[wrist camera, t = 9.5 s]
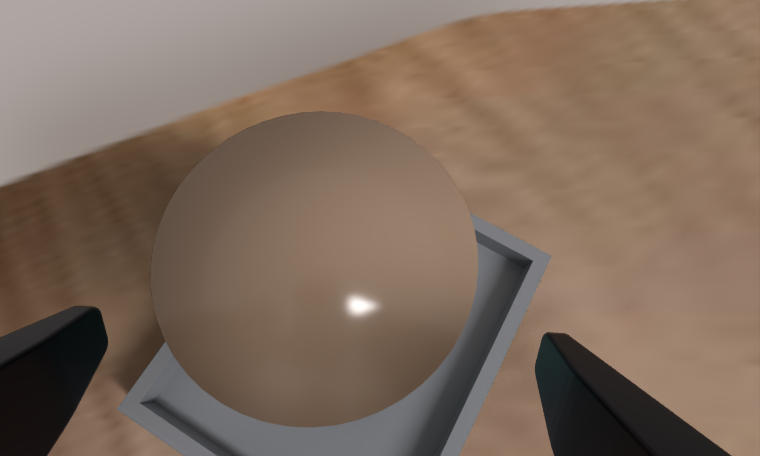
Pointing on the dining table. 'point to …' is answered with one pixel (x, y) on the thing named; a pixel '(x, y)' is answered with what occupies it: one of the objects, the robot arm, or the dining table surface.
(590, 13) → the dining table surface
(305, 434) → the charcoal tray
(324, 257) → the teal jar
